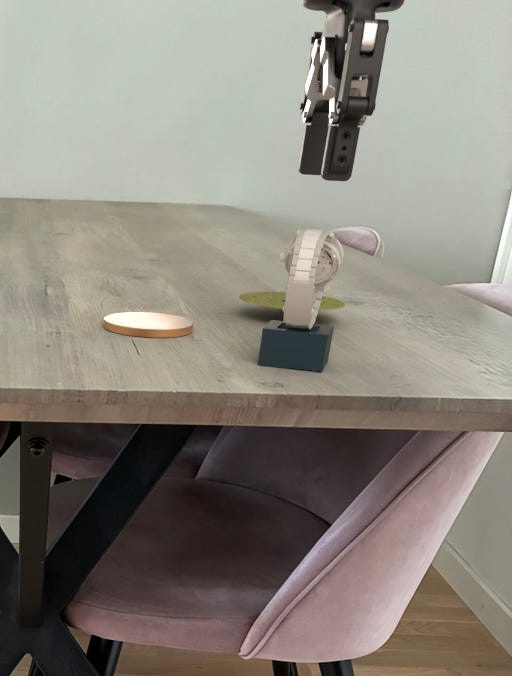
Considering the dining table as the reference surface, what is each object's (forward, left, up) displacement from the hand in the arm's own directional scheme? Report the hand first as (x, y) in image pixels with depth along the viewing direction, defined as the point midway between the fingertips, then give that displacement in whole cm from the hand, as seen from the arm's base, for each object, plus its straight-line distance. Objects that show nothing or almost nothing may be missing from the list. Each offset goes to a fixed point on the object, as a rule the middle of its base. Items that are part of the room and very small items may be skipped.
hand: (322, 177), depth 78 cm
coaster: (+12, -13, -15) cm, 23 cm away
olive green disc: (-4, -22, -15) cm, 27 cm away
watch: (0, 0, -15) cm, 15 cm away
